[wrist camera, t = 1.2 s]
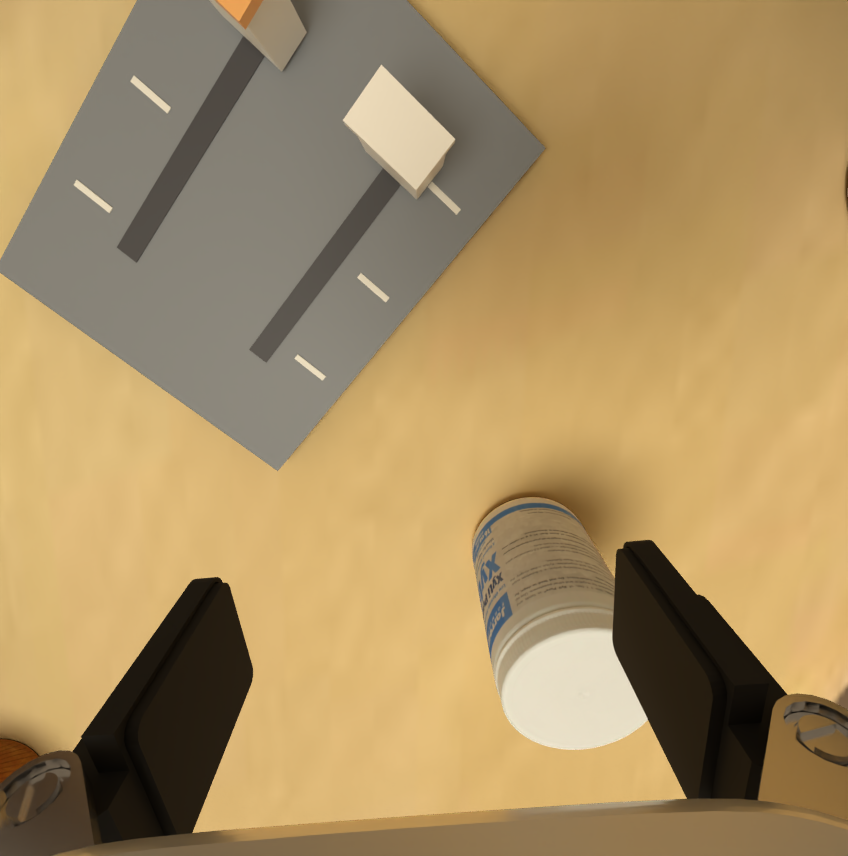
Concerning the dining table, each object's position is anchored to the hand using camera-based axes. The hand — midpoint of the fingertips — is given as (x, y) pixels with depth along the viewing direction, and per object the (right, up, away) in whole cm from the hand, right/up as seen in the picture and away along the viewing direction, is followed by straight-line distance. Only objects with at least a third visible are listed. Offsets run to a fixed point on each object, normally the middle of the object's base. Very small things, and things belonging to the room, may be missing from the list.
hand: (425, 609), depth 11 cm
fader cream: (-1, +20, +17) cm, 26 cm away
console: (-10, +19, +20) cm, 29 cm away
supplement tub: (+9, -5, +29) cm, 31 cm away
